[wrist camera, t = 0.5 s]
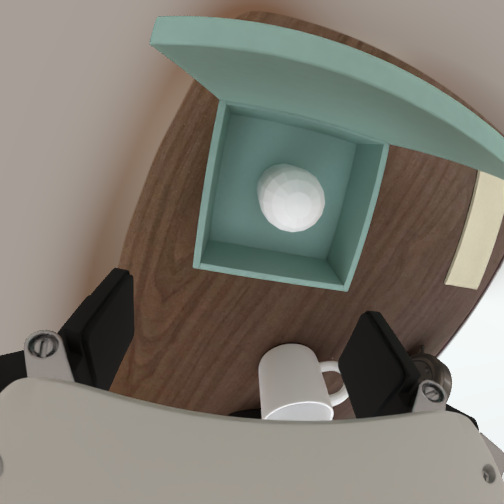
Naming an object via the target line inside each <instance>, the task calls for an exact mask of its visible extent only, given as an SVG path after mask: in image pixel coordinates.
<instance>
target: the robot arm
mask: <svg viewBox="0 0 504 504" xmlns="http://www.w3.org/2000/svg"><path fill="white" fill-rule="evenodd" d="M133 336H134V302H133V276H132V275H130V274H129V271H128V270H123V269H119V268H114V269H113V270H112V271H111V272H110V273H109V274H108V276H107V277H106V278H105V279H104V280H103V281H102V282H101V283H100V285H99V286H98V287H97V288H96V289H95V291H93V293H92V294H91V295H89V296H88V297H86V299H85V300H84V301H83V302H82V303H81V305H80V306H79V307H78V308H77V309H76V311H75V312H74V313H73V314H72V316H71V317H70V318H69V319H68V321H67V322H66V323H65V324H64V326H63V327H62V328H61V329H60V331H59V332H58V333H56V332H54V331H50V330H40V331H37V332H34V333H33V334H31V335H30V336H29V337H28V338H27V339H26V341H25V343H24V350H22V351H18V352H14V353H10V354H6V355H1V356H0V504H504V482H503V479H502V475H503V472H504V453H503V452H502V450H500V449H499V448H498V447H497V446H496V445H495V444H494V443H492V442H491V441H490V440H489V439H488V438H487V437H485V436H484V435H483V434H482V433H479V429H478V425H477V422H476V420H475V419H474V418H472V417H470V416H468V415H466V414H464V413H462V412H460V411H459V410H457V409H455V408H453V407H451V406H449V405H448V404H446V401H447V395H446V393H445V390H444V389H443V388H442V387H441V386H440V385H439V384H438V383H436V382H434V381H432V380H423V381H422V382H420V384H419V383H418V379H419V378H420V377H421V374H420V372H419V370H418V369H417V367H416V366H415V364H414V362H413V361H412V359H411V358H410V356H409V355H408V353H407V352H406V350H405V349H404V347H403V346H402V344H401V343H400V341H399V340H398V338H397V337H396V335H395V334H394V332H393V331H392V329H391V328H390V326H389V325H388V323H387V322H386V320H385V319H384V318H383V316H382V315H381V313H380V312H375V311H366V312H365V313H364V314H362V315H361V316H360V318H359V320H358V323H357V325H356V327H355V329H354V331H353V333H352V335H351V337H350V339H349V341H348V343H347V345H346V347H345V349H344V351H343V353H342V355H341V356H340V358H339V361H338V368H339V371H340V374H341V376H342V379H343V382H344V385H345V387H346V390H347V393H348V396H349V398H350V401H351V404H352V407H353V410H354V413H355V416H356V418H357V419H346V420H321V421H290V420H266V419H252V418H241V417H232V416H223V415H215V414H208V413H201V412H195V411H189V410H184V409H179V408H174V407H169V406H164V405H160V404H155V403H151V402H147V401H142V400H138V399H134V398H130V397H127V396H123V395H119V394H116V393H112V392H109V389H110V386H111V384H112V382H113V379H114V377H115V375H116V373H117V371H118V368H119V366H120V364H121V362H122V360H123V357H124V355H125V353H126V351H127V349H128V347H129V345H130V343H131V341H132V339H133Z"/></svg>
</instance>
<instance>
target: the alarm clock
mask: <svg viewBox="0 0 504 504" xmlns="http://www.w3.org/2000/svg"><path fill="white" fill-rule="evenodd" d="M424 347H425V346H424V345H422V346H421V353H420V354H416V355H413V356H411V357H410V358H411V359H412V361H413V362H414V364H415V366H416V367H417V369H418V370H419V372H420V374H421V377H420V378H419V379H418V383H419V384H420V382H422V381H423V380H432V381H434V382H436V383H438V384H439V385H440V386H441V387H442V388H443V389H444V390H445V393H446V395H447V400H448V398H449V395H450V392H451V388H452V379H451V374H450V371H449V369H448V368H447V366H446V365H445V364H443V363H442V362H441V361H440V360H438V359H437V358H436V357H434V356H433V355H430V354H425V353H424ZM446 402H447V401H446Z"/></svg>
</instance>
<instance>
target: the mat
mask: <svg viewBox="0 0 504 504" xmlns="http://www.w3.org/2000/svg"><path fill="white" fill-rule="evenodd" d="M503 213H504V180H503V179H500V178H498V177H495V176H493V175H490V174H488V173H485V172H482V171H480V170H478V173H477V178H476V183H475V187H474V191H473V196H472V200H471V204H470V208H469V211H468V215H467V218H466V222H465V225H464V228H463V232H462V235H461V238H460V241H459V244H458V247H457V250H456V252H455V255H454V258H453V260H452V263H451V266H450V268H449V271H448V273H447V276H446V278H445V281H444V283H445V284H448V285H454V286H460V287H466V288H471V289H477V288H478V286H479V283H480V281H481V279H482V276H483V274H484V271H485V269H486V266H487V264H488V261H489V258H490V255H491V253H492V250H493V247H494V244H495V241H496V238H497V234H498V231H499V228H500V224H501V221H502V217H503Z"/></svg>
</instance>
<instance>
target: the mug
mask: <svg viewBox="0 0 504 504" xmlns="http://www.w3.org/2000/svg"><path fill="white" fill-rule="evenodd" d="M325 371H336V372H338V373H340V371H339V368H338V362H336V361H324V362H318V360H317V357H316V355H315V354H314V352H313V351H312V350H311V349H309V348H308V347H306V346H304V345H300V344H284V345H280V346H277V347H275V348H273V349H271V350H269V351H268V352H267V353H266V354H265V355H264V356H263V357H262V359H261V361H260V363H259V386H260V401H261V416H262V419H266V420H290V421H321V420H332V418H333V414H334V412H333V408H332V407H333V406H335V405H338V404H339V403H341V402H343V401H344V400H345V399H346V398H348V393H347V390H346V387H345V385H344V384H343V387H342V388H341V390H340V391H338V392H337V393H334V394H331V395H328V391H327V388H326V385H325V382H324V378H323V375H322V372H325Z"/></svg>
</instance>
